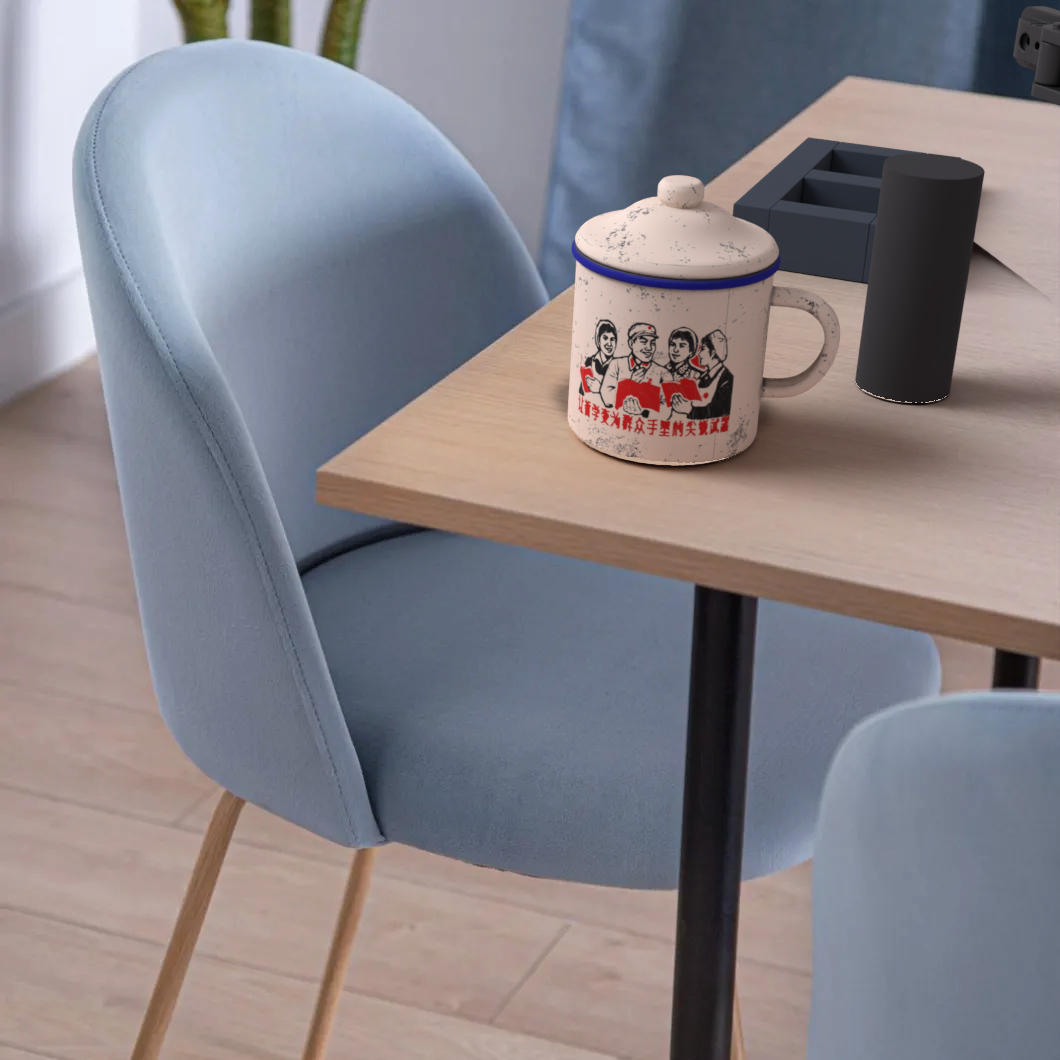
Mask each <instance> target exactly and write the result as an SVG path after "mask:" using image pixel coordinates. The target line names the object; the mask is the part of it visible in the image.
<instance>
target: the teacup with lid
mask: <svg viewBox="0 0 1060 1060" xmlns="http://www.w3.org/2000/svg"><path fill="white" fill-rule="evenodd" d="M705 190H706V189H705V185H704V183H703V182H702V181H701V179H700V178H697V177H694V176H691V175H690V176H689V175H682V174H681V175H680V174H678V175H677V174H675V175H668V176H665V177H663V178H661V180H660V181H659V183H658V184H657V194H656V196H651V197H646V198H643V199H641V200H638V201H636V202H634V203H632V204H631V205H629V206H627V207H626V208H623V209H617V210H613V211H607V212H604V213H601V214H598V215H596V216H593V217H592V218H590V219H588V220H587V221H585V222H584V223H583V224H582V225H581V226H580V227H579V228H578V230H577V232H576V234H575V237H574V239H573V240H572V243H571V249H570V250H571V254H572V256H573V258H574V259H575V275H574V276H575V278H574V294H573V296H574V297H573V310H572V311H573V313H572V330H571V348H570V363H569V365H570V367H569V382H568V383H569V384H568V399H567V400H568V402H567V424H568V423H569V424H568V426H569V428H570V427H571V429H572V430H573V431H574V432H575V433H576V434H577V435H578V436H579V437H580V438H582V439H583V440H585V441H587V442H588V443H590V444H592V445H594V446H596V447H599V448H600V449H603V450H607V451H610V452H613V453H616V454H619V455H624V456H627V457H633V458H640V459H644V460H650V461H662V462H678V463H683V462H685V463H690V462H692V463H695V462H705V461H713V460H719V459H722V458H727V457H731V456H733V455H735V454H738V453H739V454H741V453H742V451H743V452H744V451H745V450H747V449H748V448H749V447H750V446H751V444H753V442H754V440H755V438H756V436H757V433H758V425H759V423H758V422H759V416H760V407H761V406H760V405H761V398H763V399H764V398H765V399H766V398H767V399H784V398H785V399H786V398H793V397H796V396H799V395H802V394H804V393H807V392H808V391H810V390H811V389H813V388H814V387H815V386H817V384H819V382H821V380H822V379H823V378H824V377H826V375H827V373H828V372H829V370H830V369H831V367H832V366H833V363H834V362H835V359H836V356H837V354H838V351H839V347H840V341H841V340H840V339H841V325H840V321H839V318H838V315H837V313H836V311H835V310H834V308H833V307H832V306H831V304H830V303H829V302H828V301H826V300H825V299H824V298H823V297H822V296H820V295H818V294H817V293H815V292H813V291H810V290H807V289H803V288H798V287H789V286H778V285H776V286H775V285H774V276H775V274H776V273H777V272H778V271H779V267H780V265H781V257H780V254H779V249H778V246H777V244H776V242H775V240H774V238H773V237H772V236H771V235H770V234H769V233H768V232H767V231H765V230H764V229H762V228H761V227H759V226H757V225H755V224H753V223H750V222H748V221H745V220H742V219H739V218H736V217H734V216H733V214H732V213H730V211H728V210H726V208H724V207H722V206H720V205H719V204H717V203H715V202H713V201H710V200H708V199H705V192H706V191H705ZM771 307H778V308H779V307H781V308H792V309H797V310H800V311H804V312H806V313H808V314H810V315H812V316H813V317H814V318H815V320H817V322H819V324H820V326H821V327H822V331H823V334H824V338H823V339H824V340H823V345H822V348H821V350H820V352H819V353H818V355H817V357H816V358H815V360H814V361H813V362H812V364H810V365H809V366H808V367H807V368H806V369H805V370H803V371H802V372H800V373H798V374H795V375H792V376H788V377H765V376H764V369H765V359H766V350H767V344H768V343H767V342H768V332H769V323H770V313H771ZM571 429H570V430H571ZM572 430H571V431H572ZM740 452H741V453H740ZM739 454H738V455H739ZM735 456H736V455H735ZM733 457H734V456H733ZM731 458H732V457H731Z"/></svg>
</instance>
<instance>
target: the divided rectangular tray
mask: <svg viewBox="0 0 1060 1060" xmlns="http://www.w3.org/2000/svg"><path fill="white" fill-rule="evenodd" d="M902 154H931V153H928V152H923V151H922V152H921V151H915V150H907V149H899V148H891V147H885V146H884V147H883V146H875V145H868V144H861V143H855V142H846V141H838V140H832V139H824V138H816V137H809V136H808V137H806V138H805V140H803V141H802V142H801V143H800V144H798V146H797V147H795V149H793V150H792V151H791V152H790V153H789V154H788V155H787V156H786V157H784V158H783V159H782V160H781V161H780V162H779V163H778V164H776V165H775V166H774V167H773V168H772V169H771V170H770V171H768V172H767V173H766V174H765V176H763V177H762V178H761V179H759V181H758V182H756V183H755V184H754V185H753V186H752V187H750V189H749V190H748V191H746V192H745V193H744V194H743V195H742V196H741V197H740V198H739V199H737V200H736V201H735V202H734V203H733V207H732V209H733V210H732V215H733V216H734V217H736V218H739V219H742V220H745V221H748V222H750V223H753V224H755V225H757V226H759V227H761V228H762V229H764V230H765V231H767V232H768V233H769V234H770V235H771V236H772V237H773V238H774V240H775V242H776V244H777V246H778V249H779V254H780V257H781V265H780V267H779V269H778V271H786V272H792V273H799V274H804V275H805V274H806V275H810V276H811V275H812V276H819V277H824V278H830V279H838V280H842V281H852V282H857V283H863V284H864V283H865V284H868V280H869V272H870V265H871V257H872V249H873V242H874V234H875V227H876V219H877V212H878V204H879V196H880V189H881V181H882V174H883V166H884V161H885V160H886V159H887V158H889V157H892V156H896V155H902ZM934 154H935V155H939V154H937V153H934ZM943 155H944V156H947V155H945V154H943ZM949 156H950V157H955V158H960V159H962V157H960V156H952V155H949Z"/></svg>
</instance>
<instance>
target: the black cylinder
mask: <svg viewBox="0 0 1060 1060" xmlns="http://www.w3.org/2000/svg"><path fill="white" fill-rule="evenodd" d="M935 154H936V153H930V154H928V153H927V154H902V155H896V156H892V157H889V158H887V159H886V160H885V161H884V166H883V174H882V181H881V189H880V196H879V204H878V212H877V219H876V227H875V234H874V242H873V249H872V257H871V265H870V272H869V280H868V283H867V286H866V287H867V289H866V295H865V305H864V310H863V318H862V325H861V333H860V341H859V349H858V356H857V364H856V371H855V377H854V378H855V380H854V382H855V381H856V383H857V385H858V386H859V387H860V388H861V389H864V390H866V391H867V392H870V393H872V394H873V395H876V396H880V397H884V398H885V399H892V400H895V401H901V402H905V401H907V402H912V403H915V402H917V403H921V402H923V403H925V402H929V401H934V400H935V401H936V400H938V399H942V398H944V397H945V396H947V395H948V394H949V395H950V393H951V387H952V381H953V374H954V369H955V362H956V355H957V350H958V343H959V336H960V332H961V331H960V330H961V323H962V317H963V311H964V305H965V300H966V299H965V298H966V293H967V292H966V291H967V286H968V280H969V273H970V267H971V260H972V254H973V249H974V241H975V236H976V235H975V234H976V229H977V222H978V217H979V212H980V211H979V210H980V203H981V198H982V192H983V185H984V178H985V172H986V171H985V169H984V168H983V167H982V166H981V165H979V164H978V163H976V162H973V161H970V160H967V159H963V158H961V157H960V158H961V159H960V158H955V157H956V156H953V157H950V156H951V155H946V156H944V155H945V154H938V155H935ZM856 383H855V384H856ZM949 395H948V396H949ZM948 396H947V397H948Z"/></svg>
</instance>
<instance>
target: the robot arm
mask: <svg viewBox="0 0 1060 1060" xmlns="http://www.w3.org/2000/svg"><path fill="white" fill-rule="evenodd" d="M1015 34H1016V35H1015V40H1014V48H1013V54H1012V57H1013V58H1014V59H1015V61H1016V63H1017V65H1018V66H1020V67H1023V68H1026V69H1028V70H1031V71H1034V72H1035V75H1034V80H1033V81H1032V86H1031V92H1030V96H1031V97H1033V98H1036V99H1039V100H1040V101H1041V102H1044V103H1045V102H1046V103H1051V104H1054V105H1056V106H1060V10H1058V9H1055V8H1053V7H1048V6H1045V5H1041V6H1040V5H1039V6H1038V5H1036V6H1027V7H1025V8H1024V9H1023V11H1021V15H1020V17H1019V18H1018V24H1017V29H1016V33H1015Z"/></svg>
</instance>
